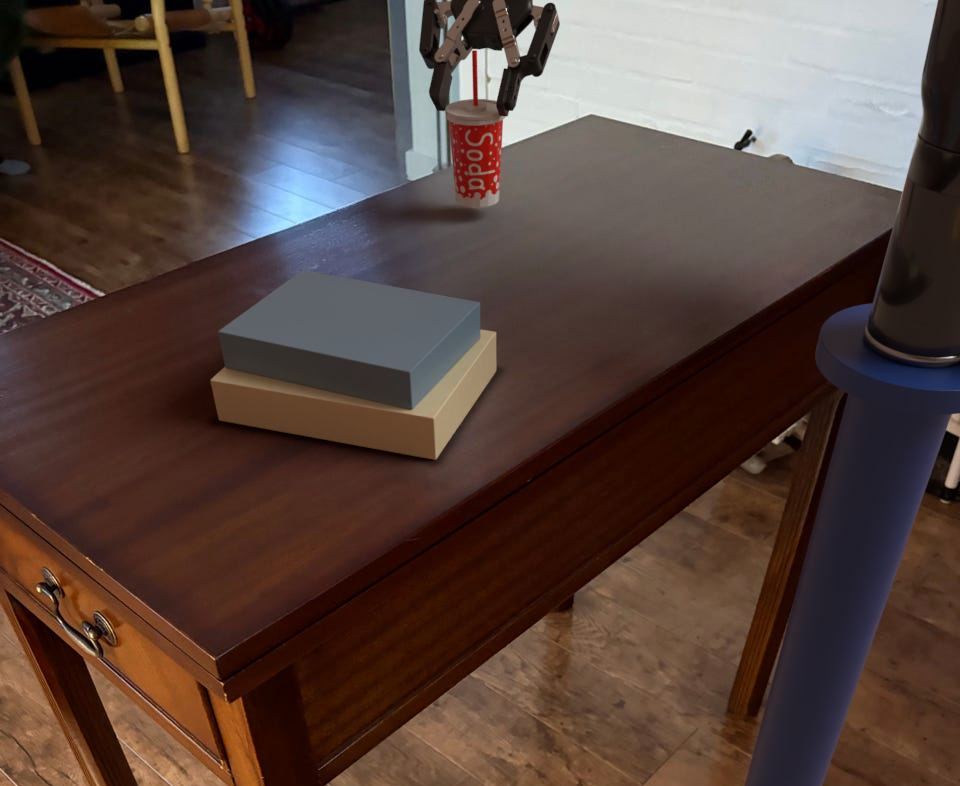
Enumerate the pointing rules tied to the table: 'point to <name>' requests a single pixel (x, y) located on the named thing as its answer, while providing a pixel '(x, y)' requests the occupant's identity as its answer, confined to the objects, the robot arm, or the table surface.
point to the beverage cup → (475, 147)
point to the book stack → (355, 364)
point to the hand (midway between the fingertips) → (470, 108)
